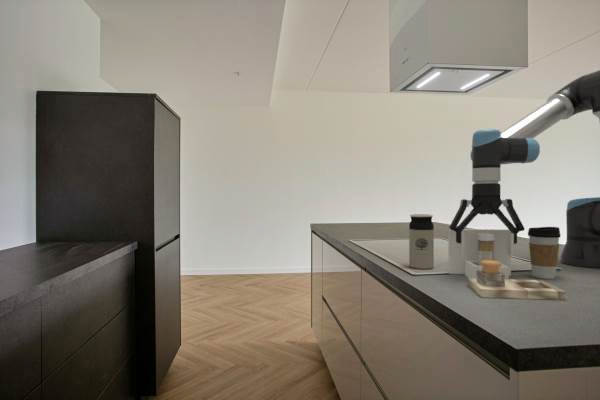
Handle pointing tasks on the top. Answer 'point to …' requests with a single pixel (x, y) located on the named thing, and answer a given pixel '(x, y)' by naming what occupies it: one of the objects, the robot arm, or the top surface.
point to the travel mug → (421, 241)
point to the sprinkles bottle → (485, 247)
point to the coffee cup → (544, 251)
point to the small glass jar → (490, 266)
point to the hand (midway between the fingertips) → (485, 254)
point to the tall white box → (470, 258)
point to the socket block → (513, 287)
